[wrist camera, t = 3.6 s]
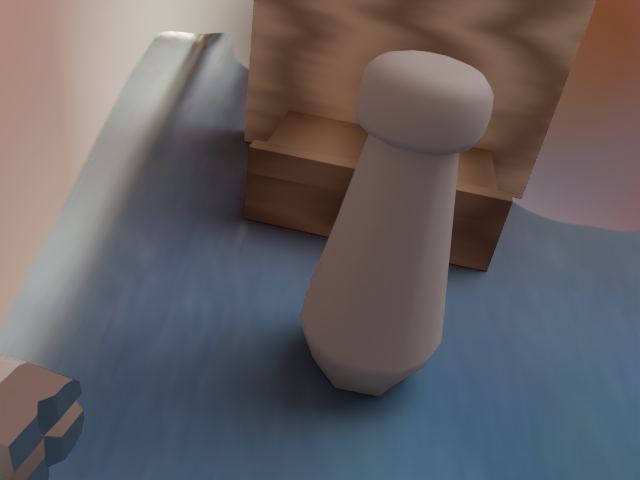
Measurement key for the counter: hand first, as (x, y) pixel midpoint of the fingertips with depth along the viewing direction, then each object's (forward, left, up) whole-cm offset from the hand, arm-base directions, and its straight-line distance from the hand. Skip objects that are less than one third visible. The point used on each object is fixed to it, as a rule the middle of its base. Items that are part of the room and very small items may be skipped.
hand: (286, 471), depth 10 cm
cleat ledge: (0, -26, -9) cm, 28 cm away
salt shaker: (-1, -12, -9) cm, 15 cm away
